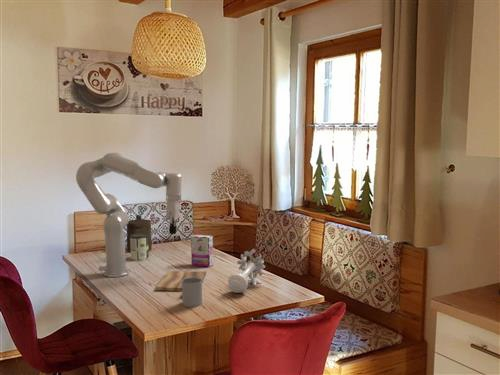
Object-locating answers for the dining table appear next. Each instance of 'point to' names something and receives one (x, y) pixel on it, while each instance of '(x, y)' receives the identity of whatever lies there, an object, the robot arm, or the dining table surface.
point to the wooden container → (139, 230)
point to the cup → (192, 292)
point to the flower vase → (246, 272)
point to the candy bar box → (202, 250)
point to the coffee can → (139, 247)
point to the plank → (171, 280)
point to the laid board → (191, 275)
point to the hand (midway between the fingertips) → (172, 233)
